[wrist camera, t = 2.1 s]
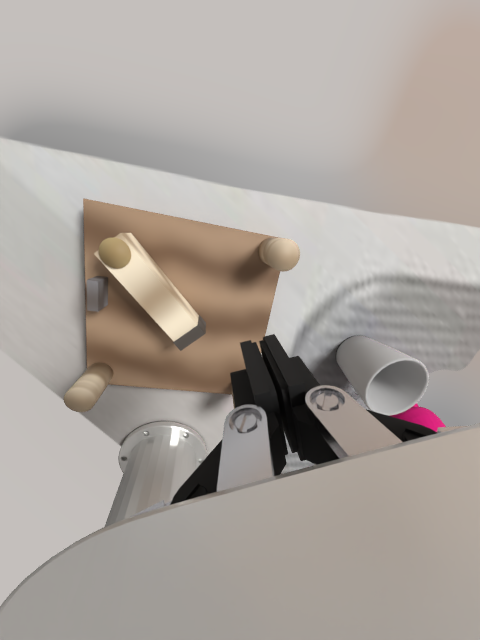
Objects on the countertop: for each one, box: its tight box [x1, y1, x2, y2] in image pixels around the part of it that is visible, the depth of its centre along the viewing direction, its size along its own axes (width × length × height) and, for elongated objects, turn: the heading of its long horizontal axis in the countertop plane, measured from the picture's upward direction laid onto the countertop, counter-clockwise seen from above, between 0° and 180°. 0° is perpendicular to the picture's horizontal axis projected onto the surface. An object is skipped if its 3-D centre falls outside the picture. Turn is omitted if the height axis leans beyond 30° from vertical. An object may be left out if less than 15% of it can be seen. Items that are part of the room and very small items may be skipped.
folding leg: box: [94, 233, 206, 351], centre depth 24 cm, size 12×3×3 cm, turn 35°
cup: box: [336, 335, 429, 416], centre depth 31 cm, size 8×10×8 cm
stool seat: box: [64, 199, 300, 412], centre depth 26 cm, size 20×20×8 cm
